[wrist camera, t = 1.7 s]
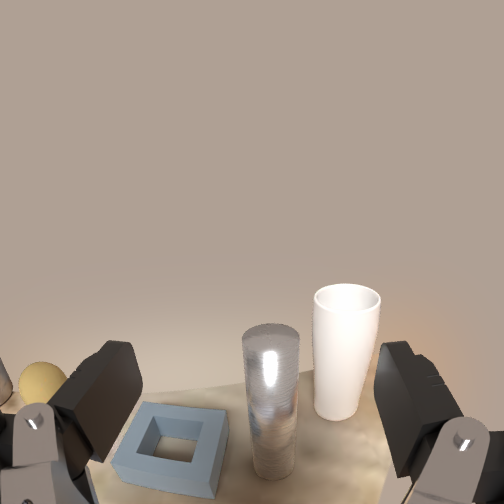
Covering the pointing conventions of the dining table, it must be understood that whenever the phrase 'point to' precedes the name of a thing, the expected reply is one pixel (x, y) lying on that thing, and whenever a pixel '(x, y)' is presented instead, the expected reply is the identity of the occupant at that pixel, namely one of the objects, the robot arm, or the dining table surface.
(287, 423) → the steel pin
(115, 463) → the blue square frame
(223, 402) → the dining table surface
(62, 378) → the light bulb
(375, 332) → the drinking glass
